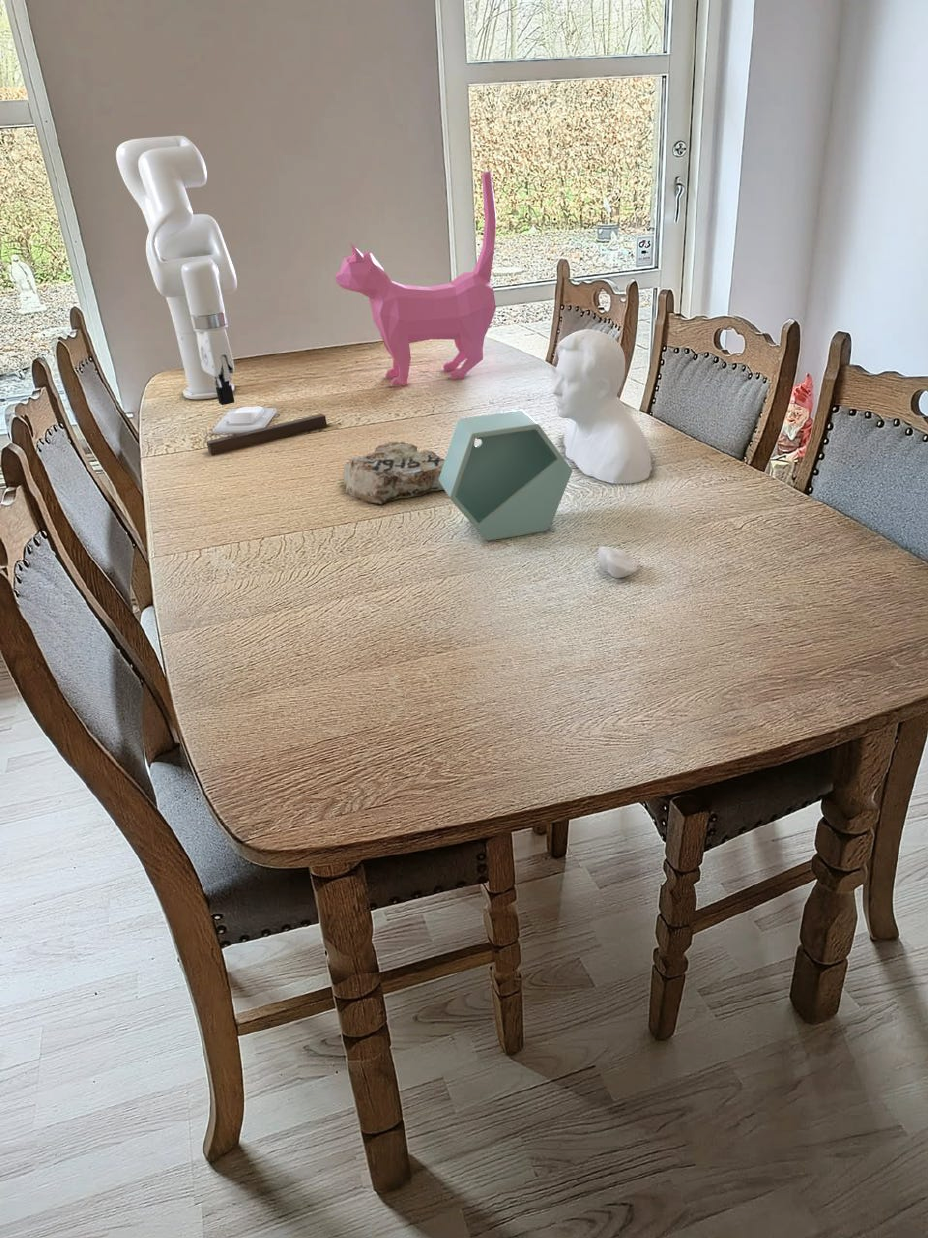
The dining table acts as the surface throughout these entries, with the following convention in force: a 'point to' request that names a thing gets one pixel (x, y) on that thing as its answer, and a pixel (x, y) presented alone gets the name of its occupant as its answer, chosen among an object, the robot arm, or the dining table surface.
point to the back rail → (266, 434)
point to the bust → (598, 410)
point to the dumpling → (616, 562)
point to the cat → (429, 304)
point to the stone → (393, 473)
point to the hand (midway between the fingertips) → (226, 403)
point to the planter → (504, 474)
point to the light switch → (244, 420)
